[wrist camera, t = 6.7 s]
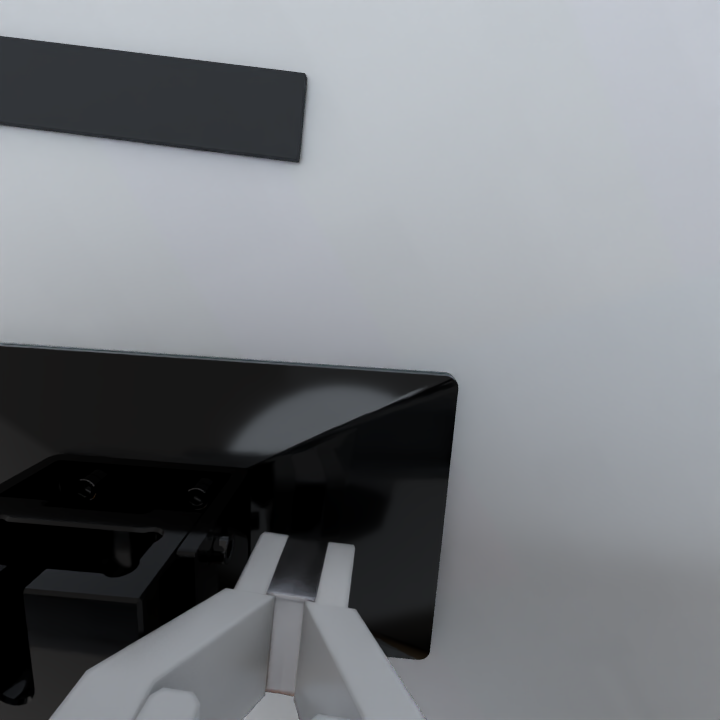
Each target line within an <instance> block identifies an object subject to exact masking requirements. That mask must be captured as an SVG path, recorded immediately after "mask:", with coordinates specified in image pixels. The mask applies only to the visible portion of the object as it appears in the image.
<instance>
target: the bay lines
mask: <svg viewBox="0 0 720 720" xmlns="http://www.w3.org/2000/svg"><path fill="white" fill-rule="evenodd" d="M306 84H307V77H306V74H305V73H299V72H291V71H283V70H275V69H266V68H258V67H250V66H242V65H233V64H225V63H217V62H209V61H201V60H192V59H184V58H176V57H168V56H160V55H151V54H143V53H135V52H127V51H118V50H110V49H102V48H94V47H86V46H77V45H69V44H61V43H53V42H45V41H36V40H28V39H20V38H12V37H3V36H0V124H1V125H9V126H17V127H25V128H32V129H40V130H48V131H56V132H64V133H72V134H80V135H88V136H95V137H103V138H111V139H119V140H127V141H135V142H143V143H151V144H158V145H166V146H174V147H182V148H190V149H198V150H206V151H214V152H221V153H229V154H237V155H245V156H253V157H261V158H269V159H276V160H284V161H292V162H299V159H300V149H301V138H302V127H303V116H304V106H305V95H306Z"/></svg>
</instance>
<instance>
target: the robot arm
mask: <svg viewBox="0 0 720 720" xmlns="http://www.w3.org/2000/svg"><path fill="white" fill-rule="evenodd" d="M354 552H355V547H354V545H350V544H342V543H334V542H324V541H318V540H313V539H307V538H302V537H296V536H288V535H285V534H278V533H272V532H264V533H262V534H261V535H260V537H259V539H258V541H257V543H256V545H255V547H254V549H253V551H252V553H251V555H250V557H249V559H248V561H247V563H246V565H245V567H244V569H243V571H242V574H241V576H240V578H239V580H238V582H237V584H236V586H235V588H234V589H228V588H225V589H223V590H222V591H220V592H218V593H217V594H215V595H213V596H212V597H210V598H208V599H207V600H205V601H203V602H201V603H200V604H198V605H196V606H195V607H193V608H191V609H190V610H188V611H186V612H185V613H183V614H181V615H180V616H178V617H176V618H174V619H173V620H171V621H169V622H168V623H166V624H164V625H163V626H161V627H159V628H158V629H156V630H154V631H152V632H151V633H149V634H147V635H146V636H144V637H142V638H141V639H139V640H137V641H136V642H134V643H132V644H130V645H129V646H127V647H125V648H124V649H122V650H120V651H119V652H117V653H115V654H114V655H112V656H110V657H109V658H107V659H105V660H103V661H102V662H100V663H98V664H97V665H95V666H93V667H92V668H90V669H88V670H87V671H86V672H85V673H84V674H83V676H82V677H81V678H80V680H79V681H78V682H77V684H76V685H75V686H74V687H73V689H72V690H71V691H70V693H69V694H68V695H67V697H66V698H65V699H64V701H63V702H62V703H61V704H60V706H59V707H58V708H57V710H56V711H55V712H54V714H53V715H52V716H51V717H50V719H49V720H243V718H244V717H245V716H246V715H247V714H248V713H249V712H250V711H251V710H252V709H253V708H254V706H255V705H256V704H257V703H258V702H259V701H260V700H261V699H262V698H263V697H264V696H265V692H272V693H280V694H285V695H289V696H294V702H295V705H296V709H297V712H298V715H299V719H300V720H427V719H426V718H425V716H424V715H423V713H422V711H421V710H420V708H419V707H418V705H417V704H416V702H415V701H414V699H413V697H412V696H411V694H410V693H409V691H408V690H407V688H406V687H405V685H404V683H403V682H402V680H401V679H400V677H399V676H398V674H397V673H396V671H395V669H394V668H393V666H392V665H391V663H390V662H389V660H388V659H387V657H386V655H385V654H384V652H383V651H382V649H381V648H380V646H379V645H378V643H377V641H376V640H375V638H374V637H373V635H372V634H371V632H370V631H369V629H368V627H367V626H366V624H365V623H364V621H363V620H362V618H361V616H360V615H359V613H358V612H357V610H356V609H352V608H348V602H349V594H350V585H351V577H352V569H353V561H354Z"/></svg>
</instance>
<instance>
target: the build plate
mask: <svg viewBox="0 0 720 720" xmlns="http://www.w3.org/2000/svg"><path fill="white" fill-rule="evenodd" d="M457 396H458V384H457V382H456V380H455V378H454V377H453V376H452V375H451V374H449V373H445V372H432V371H417V370H402V369H387V368H372V367H357V366H342V365H327V364H312V363H297V362H282V361H267V360H252V359H237V358H222V357H207V356H192V355H177V354H162V353H148V352H133V351H118V350H103V349H88V348H73V347H58V346H43V345H28V344H13V343H0V720H49V719H50V717H51V716H52V715H53V714H54V712H55V711H56V710H57V708H58V707H59V706H60V704H61V703H62V702H63V701H64V699H65V698H66V697H67V695H68V694H69V693H70V691H71V690H72V689H73V687H74V686H75V685H76V684H77V682H78V681H79V680H80V678H81V677H82V676H83V674H84V673H85V672H86V671H87V670H88V669H90V668H92V667H93V666H95V665H97V664H98V663H100V662H102V661H103V660H105V659H107V658H109V657H110V656H112V655H114V654H115V653H117V652H119V651H120V650H122V649H124V648H125V647H127V646H129V645H130V644H132V643H134V642H136V641H137V640H139V639H141V638H142V637H144V636H146V635H147V634H149V633H151V632H152V631H154V630H156V629H158V628H159V627H161V626H163V625H164V624H166V623H168V622H169V621H171V620H173V619H174V618H176V617H178V616H180V615H181V614H183V613H185V612H186V611H188V610H190V609H191V608H193V607H195V606H196V605H198V604H200V603H201V602H203V601H205V600H207V599H208V598H210V597H212V596H213V595H215V594H217V593H218V592H220V591H222V590H223V589H225V588H228V589H234V588H235V586H236V584H237V582H238V580H239V578H240V576H241V574H242V571H243V569H244V567H245V565H246V563H247V561H248V559H249V557H250V555H251V553H252V551H253V549H254V547H255V545H256V543H257V541H258V539H259V537H260V535H261V534H262V533H264V532H272V533H278V534H285V535H288V536H296V537H302V538H307V539H313V540H318V541H324V542H334V543H342V544H350V545H354V547H355V552H354V561H353V569H352V577H351V585H350V594H349V602H348V608H352V609H356V610H357V612H358V613H359V615H360V616H361V618H362V620H363V621H364V623H365V624H366V626H367V627H368V629H369V631H370V632H371V634H372V635H373V637H374V638H375V640H376V641H377V643H378V645H379V646H380V648H381V649H382V651H383V652H384V654H385V655H386V657H395V658H405V659H416V660H421V659H424V658H426V657H427V656H428V655H429V652H430V645H431V635H432V626H433V617H434V608H435V598H436V589H437V580H438V571H439V562H440V552H441V543H442V534H443V525H444V515H445V506H446V497H447V488H448V479H449V469H450V460H451V451H452V442H453V432H454V423H455V414H456V405H457Z"/></svg>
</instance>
